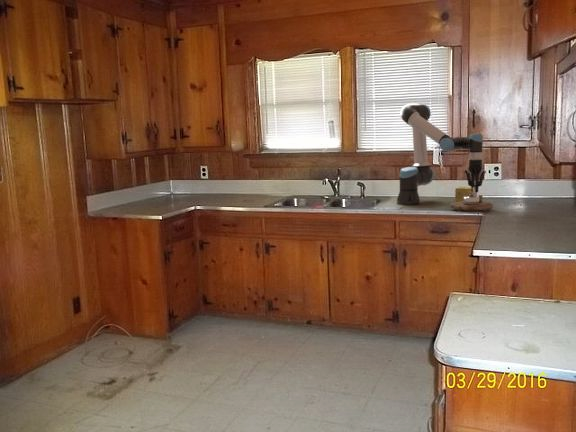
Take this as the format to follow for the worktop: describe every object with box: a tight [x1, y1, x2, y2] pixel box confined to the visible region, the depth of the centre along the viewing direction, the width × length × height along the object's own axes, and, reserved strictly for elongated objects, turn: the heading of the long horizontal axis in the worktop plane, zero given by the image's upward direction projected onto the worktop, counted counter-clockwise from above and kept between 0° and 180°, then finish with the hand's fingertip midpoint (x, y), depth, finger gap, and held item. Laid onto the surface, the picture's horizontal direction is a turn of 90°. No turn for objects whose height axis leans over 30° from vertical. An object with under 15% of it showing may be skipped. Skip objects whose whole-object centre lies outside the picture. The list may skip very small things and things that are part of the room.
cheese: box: [454, 186, 473, 202], centre depth 360 cm, size 10×11×10 cm
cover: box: [463, 194, 479, 206], centre depth 331 cm, size 9×9×6 cm
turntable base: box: [458, 209, 485, 213], centre depth 332 cm, size 14×14×2 cm
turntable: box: [450, 194, 494, 211], centre depth 331 cm, size 24×24×6 cm
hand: (474, 197), depth 340 cm, fingers closed
